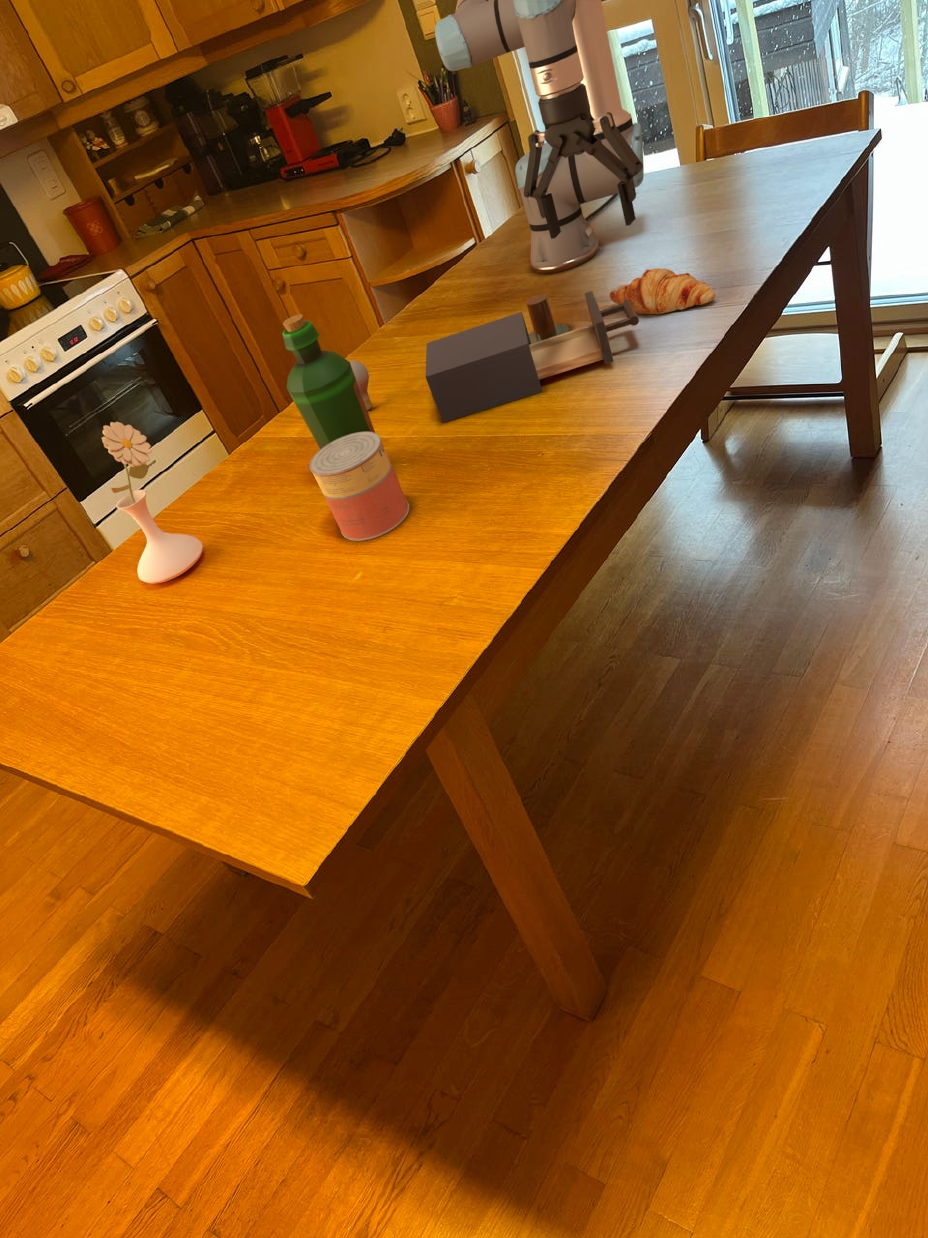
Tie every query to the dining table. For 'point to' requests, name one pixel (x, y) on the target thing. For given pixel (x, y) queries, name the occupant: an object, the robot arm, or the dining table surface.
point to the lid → (543, 320)
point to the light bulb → (362, 381)
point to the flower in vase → (163, 550)
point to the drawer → (580, 341)
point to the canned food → (360, 486)
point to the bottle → (323, 386)
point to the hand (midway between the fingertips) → (592, 229)
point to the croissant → (663, 292)
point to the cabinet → (481, 368)
